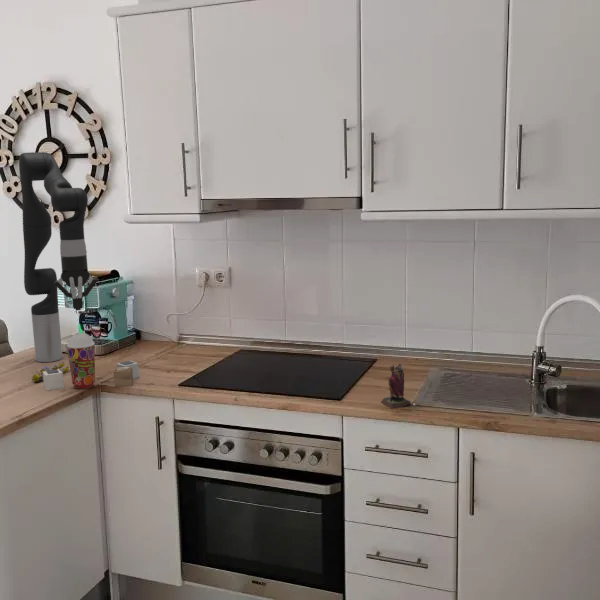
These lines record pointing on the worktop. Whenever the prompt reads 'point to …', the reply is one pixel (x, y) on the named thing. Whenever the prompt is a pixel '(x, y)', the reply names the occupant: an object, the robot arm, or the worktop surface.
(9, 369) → the worktop surface
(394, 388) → the figurine
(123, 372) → the block walnut numbered
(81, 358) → the smoothie
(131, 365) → the block grey numbered
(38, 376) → the toy
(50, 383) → the white hollow cube
